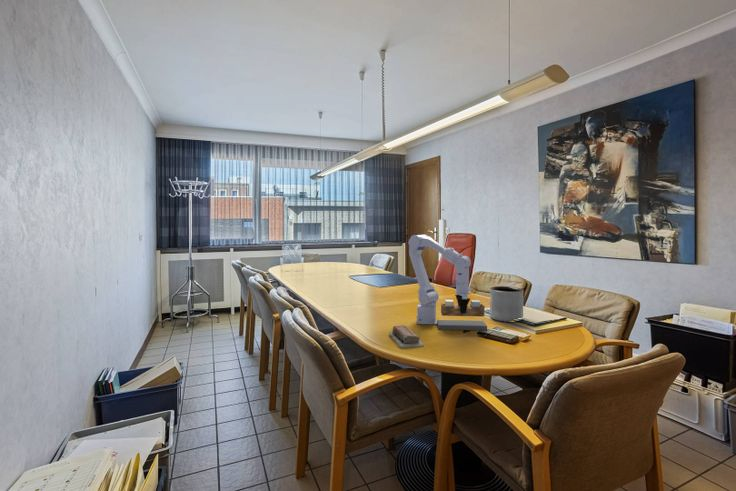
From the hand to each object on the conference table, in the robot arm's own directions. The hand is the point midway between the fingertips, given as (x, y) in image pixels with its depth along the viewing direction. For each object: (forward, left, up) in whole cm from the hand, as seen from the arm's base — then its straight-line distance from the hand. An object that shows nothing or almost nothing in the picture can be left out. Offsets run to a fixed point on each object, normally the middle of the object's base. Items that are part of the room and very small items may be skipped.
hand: (462, 311), depth 171 cm
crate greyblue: (+6, 0, +2) cm, 6 cm away
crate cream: (-6, 0, +2) cm, 6 cm away
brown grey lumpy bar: (0, 0, -2) cm, 2 cm away
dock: (0, +4, -8) cm, 9 cm away
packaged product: (-26, -18, -9) cm, 33 cm away
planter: (+25, +20, -9) cm, 33 cm away
